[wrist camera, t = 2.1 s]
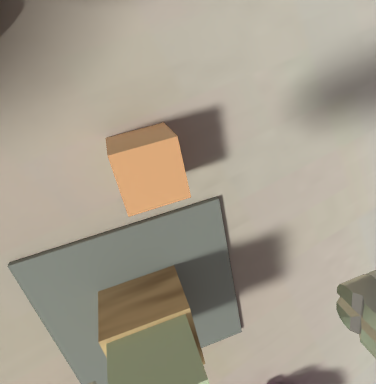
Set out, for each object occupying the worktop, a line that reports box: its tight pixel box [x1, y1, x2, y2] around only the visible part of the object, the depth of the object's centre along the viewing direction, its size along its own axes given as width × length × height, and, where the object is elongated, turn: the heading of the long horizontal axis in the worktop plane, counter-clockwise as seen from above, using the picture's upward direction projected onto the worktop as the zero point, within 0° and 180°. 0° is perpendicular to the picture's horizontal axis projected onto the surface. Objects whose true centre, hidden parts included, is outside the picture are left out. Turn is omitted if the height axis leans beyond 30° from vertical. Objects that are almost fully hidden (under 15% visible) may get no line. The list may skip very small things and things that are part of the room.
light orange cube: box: [106, 122, 191, 217], centre depth 24 cm, size 5×5×5 cm
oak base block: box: [98, 265, 205, 364], centre depth 30 cm, size 8×8×6 cm
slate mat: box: [8, 197, 242, 384], centre depth 33 cm, size 20×20×1 cm
